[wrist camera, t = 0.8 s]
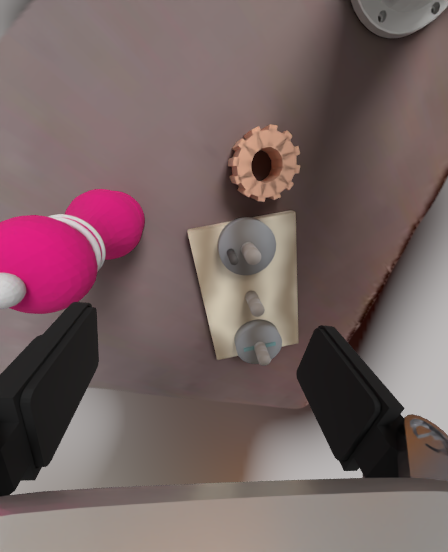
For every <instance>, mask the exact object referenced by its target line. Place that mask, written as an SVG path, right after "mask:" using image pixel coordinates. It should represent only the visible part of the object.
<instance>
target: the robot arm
mask: <svg viewBox="0 0 448 552" xmlns="http://www.w3.org/2000/svg"><path fill="white" fill-rule="evenodd" d="M351 3H352V5H353V8H354V11H355V12H356V14H357V16H358V17H359V19H360V21H361V22H362V23H363V24H364V25H365V26H366V27H367V28H368V30H370V31H371V32H373V33H375V34H376V35H378V36H382V37H385V38H401V37H404V36H408V35H411V34H412V33H414V32H416V31H418V30H420V29H422V28H423V27H424V26H426V25H427V24H429V23H430V22H432V21H433V20H435V19H436V18H437V17H438V16H439V15H440V14H441V13H442V12H443V11H444V10H445V9H446V8H447V7H448V0H351ZM98 362H99V355H98V333H97V311H96V308H94V307H92V305H91V304H90V303H81V302H73V303H71V304H70V305H69V307H68V308H67V309H66V310H65V311H64V312H63V313H62V314H61V315H60V316H59V317H58V319H57V320H56V321H55V322H54V323H53V324H52V325H51V326H50V327H49V328H48V329H47V330H46V332H45V333H44V334H43V335H40V336H37V337H36V338H35V339H34V340H33V341H32V342H31V343H30V344H29V345H28V346H27V347H26V348H25V349H24V350H23V351H22V352H21V353H20V354H19V356H18V357H17V358H16V359H15V360H14V361H13V362H12V363H11V364H10V365H9V366H8V367H7V368H6V369H5V370H4V371H3V372H2V373H1V375H0V552H448V435H447V434H446V433H445V432H444V431H443V430H441V429H440V428H439V427H438V426H436V425H435V424H433V423H432V422H430V421H429V420H427V419H425V418H422V417H420V416H417V415H413V414H412V415H407V416H406V417H405V418H403V417H402V416H401V412H402V411H403V410H404V407H403V406H402V405H401V404H400V403H399V402H398V401H397V399H396V398H395V397H394V396H393V395H392V393H390V391H389V390H388V389H387V388H386V386H385V385H384V384H383V383H382V382H381V381H380V380H379V378H378V377H377V376H376V375H375V374H374V373H373V371H372V370H371V369H370V368H369V367H368V366H367V364H366V363H365V362H364V361H363V360H362V359H361V358H360V356H359V355H358V354H357V353H356V352H355V351H354V350H353V348H352V347H351V346H350V345H349V344H348V342H347V341H346V340H345V339H344V338H343V337H342V336H341V334H340V333H339V332H338V331H337V330H336V329H335V328H334V327H332V326H322V325H321V326H319V327H318V328H316V329H315V330H314V332H313V335H312V337H311V339H310V342H309V344H308V346H307V349H306V351H305V353H304V355H303V358H302V360H301V362H300V365H299V367H298V369H297V379H298V381H299V383H300V386H301V388H302V390H303V392H304V394H305V396H306V398H307V400H308V402H309V404H310V406H311V409H312V411H313V413H314V415H315V417H316V419H317V421H318V423H319V425H320V427H321V429H322V432H323V434H324V436H325V438H326V440H327V442H328V444H329V446H330V448H331V450H332V453H333V454H334V456H335V458H336V459H337V460H339V461H340V463H341V465H342V467H343V470H344V471H355V470H356V471H357V470H358V469H359V467H360V469H361V471H362V473H363V478H350V479H318V480H286V481H258V482H231V483H204V484H180V485H158V486H157V485H156V486H133V487H111V488H110V487H109V488H93V489H77V490H60V491H47V492H45V491H44V492H35V493H27V494H17V495H10V494H11V493H12V492H13V491H15V489H16V488H17V486H18V484H19V482H20V481H21V480H35V479H36V477H37V475H38V473H39V471H40V469H41V468H42V467H46V466H47V465H48V464H49V463H50V461H51V460H52V458H53V456H54V454H55V451H56V450H57V448H58V445H59V444H60V442H61V439H62V438H63V436H64V434H65V432H66V430H67V428H68V425H69V424H70V422H71V419H72V417H73V415H74V413H75V411H76V409H77V407H78V405H79V403H80V401H81V399H82V397H83V395H84V393H85V391H86V389H87V387H88V385H89V383H90V381H91V379H92V377H93V375H94V373H95V371H96V369H97V366H98Z"/></svg>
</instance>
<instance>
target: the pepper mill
mask: <svg viewBox="0 0 448 552" xmlns="http://www.w3.org/2000/svg"><path fill="white" fill-rule="evenodd" d="M144 223H145V218H144V213H143V211H142V208H141V207H140V205H139V204H138V202H137V201H136V200H135V199H133V198H132V197H131V196H129V195H127V194H125V193H123V192H119V191H110V190H105V189H95V190H90V191H88V192H85V193H83V194H81V195H79V196H78V197H76V198H75V199H74V200H73V201H72V202H71V204H70V205H69V207H68V208H67V210H66V212H65V214H58V215H52V216H49V217H45V216H38V215H30V216H19V217H14V218H11V219H8V220H5V221H2V222H0V309H5V308H11V309H14V310H17V311H20V312H24V313H34V314H45V313H52V312H56V311H59V310H63V309H65V308H68V307H69V305H70V304H71V303H73V302H78V301H79V300H81V299H82V298H83V297H84V296H85V295H86V294H87V293H88V292H89V290H90V289H91V288H92V286H93V284H94V282H95V281H96V276H97V271H98V270H99V269H100V268H101V267H102V265H103V263H104V261H105V260H110V259H115V258H119V257H122V256H124V255H126V254H128V253H129V252H130V251H132V250H133V249H134V248H135V247H136V246H137V244H138V243H139V241H140V238H141V235H142V230H143V228H144Z"/></svg>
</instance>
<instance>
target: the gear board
mask: <svg viewBox="0 0 448 552" xmlns="http://www.w3.org/2000/svg"><path fill="white" fill-rule="evenodd" d="M188 237H189V241H190V245H191V250H192V254H193V258H194V263H195V267H196V271H197V275H198V280H199V284H200V288H201V293H202V297H203V301H204V305H205V310H206V314H207V318H208V323H209V327H210V331H211V336H212V340H213V344H214V348H215V353H216V357H217V360H220V359H225V358H229V357H234V356H239V357H240V358H241V359H242V360H243V361H245V362H247V363H252V364H260V365H262V366H265V365H268V364H269V363H270V362H271V359H272V358H274V357H275V356H276V355H277V354H278V353H279V351H280V349H281V347H282V346H287V345H292V344H297V343H298V301H297V254H296V212H295V211H292V210H289V211H284V212H278V213H273V214H268V215H262V216H257V217H240V218H237V219H234V220H233V221H230V222H225V223H219V224H214V225H208V226H203V227H198V228H192V229H188Z"/></svg>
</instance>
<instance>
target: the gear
mask: <svg viewBox="0 0 448 552" xmlns="http://www.w3.org/2000/svg"><path fill="white" fill-rule="evenodd" d="M277 126H278V125H271V124H270V125H268V126H266V127H265V128H263V129H261V130H260V128H259V126H258V127H256V128H254V129H252V130H251V131H249V132H248V133H246V134H245V135H244V138H245V140H244V139H243V138H242V139H241V140H239V141H238V142H236V143H235V145H234V146H233V148H232V149H233V150H234V151H235V153H234V156H233V157H232V158H229V160H228V166H230V167H232V174H233V175H231V176H229V177H230V180H231V182H232V183H234V184H238V186H239V188H238V191H239V192H240V193H242V194H243V195H245V196H247V197H251V198H253V199H255V200H257V201H263V202H265V198H266V197H268V198H271V199H273V200H275V199H277V198H280V197H281V195H280V192H282V191H283V190H284V189H286V190H290V188H291V187H292V186H293V184H294V183H292V182H291V180H292V178H293V176H294V174H295V173H299V170H300V165H297V163H296V156H297V155H299V154H300V151H299V147H298V146H295V147H294V146H293V144H292V143H291V141H290V139H291V138H292V135H291V134H290V133H289V132H288V131H285V132H282V133H280V132H278V131H277ZM259 150H262V151H264V152H266V153H267V154H268V155H269V157H270V159H271V166H272V168H271V170H270V173H269V175H268V176H267V177H266V178H265V179H264V180H262V181H258V180H256V178H255V177H254V175H253V174H252V169H251V162H252V160H253V157H254V154H255V153H257V152H258V151H259Z"/></svg>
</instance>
